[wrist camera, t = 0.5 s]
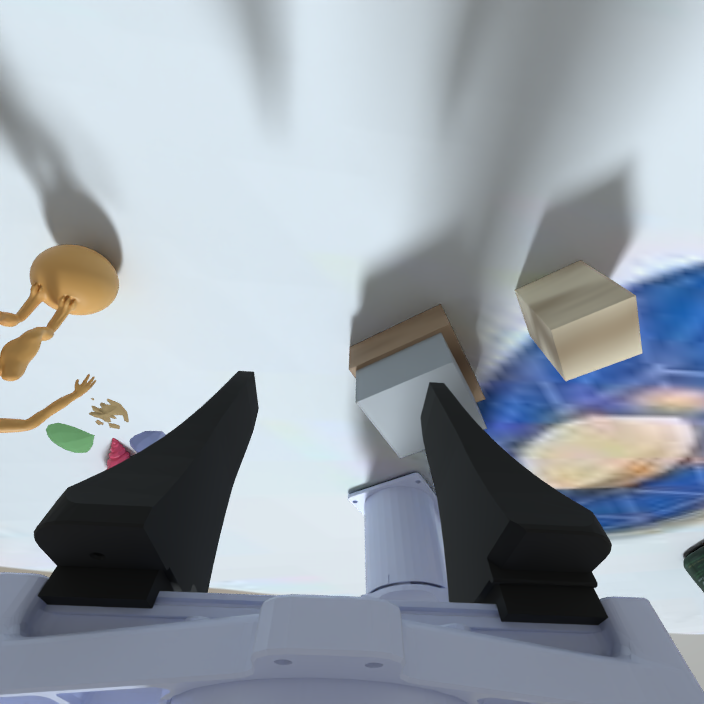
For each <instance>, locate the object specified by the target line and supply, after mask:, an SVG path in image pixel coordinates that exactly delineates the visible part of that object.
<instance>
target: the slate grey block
mask: <svg viewBox="0 0 704 704" xmlns="http://www.w3.org/2000/svg"><path fill="white" fill-rule="evenodd" d="M429 382H437V383H445V385H446V386H447V387H448V388H449V390H450V391H451V392H452V393H453V395H454V396H455V397H456V399H457V400H458V401H459V402H460V404H461V405H462V406H463V407H464V408H465V410H466V411H467V412H468V413H469V414H470V416H471V417H472V418H473V419H474V420H475V421H476V423H477V424H478V425H479V426H480V427H481V428H482V429H483V430H484V429H487V427H486V425H485V422H484V420H483V417H482V415H481V413H480V410H479V408H478V406H477V403H476V401H475V398H474V396H473V394H472V392H471V390H470V388H469V386H468V384H467V382H466V380H465V378H464V376H463V374H462V372H461V370H460V368H459V366H458V364H457V363H456V361H455V359H454V357H453V355H452V353H451V351H450V349H449V347H448V345H447V343H446V341H445V339H444V337H443V335H442V333H438V334H436V335H434V336H432V337H430V338H427V339H425V340H423V341H421V342H419V343H416V344H414V345H412V346H410V347H408V348H405V349H403V350H401V351H399V352H396V353H394V354H392V355H390V356H388V357H385V358H383V359H381V360H379V361H377V362H374V363H372V364H370V365H368V366H366V367H363V368H361V369H359V370H357V371H356V403H357V404H358V406H359V407H360V408H361V409H362V411H363V412H364V413H365V415H366V416H367V417H368V418H369V420H370V421H371V422H372V423H373V425H374V426H375V427H376V429H377V430H378V431H379V432H380V434H381V435H382V436H383V437H384V439H385V440H386V441H387V442H388V444H389V445H390V446H391V448H392V449H393V450H394V451H395V453H396V454H397V455H398V456H399V458H403V457H406V456H409V455H412V454H415V453H418V452H420V451H423V450H425V446H424V442H423V436H422V428H421V419H420V417H421V413H422V409H423V405H424V401H425V397H426V393H427V390H428V386H429Z"/></svg>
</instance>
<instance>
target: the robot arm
mask: <svg viewBox="0 0 704 704" xmlns="http://www.w3.org/2000/svg"><path fill="white" fill-rule="evenodd" d="M258 409H259V408H258V400H257V392H256V384H255V377H254V372H247V371H238V372H237V373H236V374H235V375H234V376H233V377H232V378H231V379H230V380H229V381H228V382H227V383H226V384H225V385H224V386H223V387H222V388H221V389H220V390H219V391H218V392H217V393H216V394H215V395H214V396H213V397H212V398H211V399H209V400H208V401H207V402H206V403H205V404H204V405H203V406H202V407H201V408H200V409H198V410H197V411H196V412H195V413H194V414H193V415H191V416H190V417H189V418H188V419H187V420H185V421H184V422H183V423H182V424H180V425H179V426H178V427H176V428H175V429H174V430H172V431H171V432H170V433H168V434H167V435H165V436H164V437H162V438H161V439H159V440H158V441H156V442H155V443H153V444H151V445H150V446H148V447H147V448H145V449H143V450H142V451H140V452H139V453H137V454H135V455H133V456H132V457H130V458H128V459H126V460H124V461H123V462H121V463H119V464H117V465H115V466H113V467H111V468H109V469H107V470H105V471H103V472H101V473H99V474H97V475H95V476H93V477H90V478H88V479H86V480H84V481H82V482H80V483H77V484H75V485H73V486H71V487H68V488H67V489H66V491H65V492H64V493H63V494H62V495H61V496H60V498H59V499H58V500H57V501H56V503H55V504H54V505H53V507H52V508H51V509H50V511H49V512H48V513H47V514H46V516H45V517H44V518H43V520H42V521H41V522H40V524H39V525H38V526H37V528H36V529H35V531H34V538H35V541H36V543H37V544H38V546H39V547H40V548H41V549H42V550H43V551H44V552H45V553H46V554H47V555H48V556H49V557H50V559H51V560H52V561H53V562H54V563H55V564H56V565H57V567H56V569H55V570H54V572H53V573H52V575H51V576H50V578H49V577H47V576H44V575H41V574H33V573H7V572H0V704H704V692H703V690H702V688H701V687H700V685H699V684H698V682H697V680H696V678H695V677H694V675H693V673H692V672H691V670H690V669H689V667H688V665H687V664H686V662H685V660H684V659H683V657H682V655H681V654H680V652H679V650H678V649H677V647H676V646H675V644H674V642H673V640H672V639H671V637H670V636H669V634H668V632H667V630H666V629H665V627H664V625H663V624H662V622H661V620H660V619H659V617H658V615H657V614H656V612H655V611H654V609H653V607H652V606H651V604H650V602H649V601H648V600H647V599H645V598H634V597H606V598H602V599H600V600H599V598H598V596H597V594H596V592H595V590H594V588H596V587H597V581H596V579H595V577H594V575H593V573H592V571H593V570H594V569H595V568H596V567H597V566H598V565H599V564H600V563H601V562H602V561H603V560H604V559H605V558H606V557H607V556H608V555H609V553H610V551H611V546H612V544H611V542H610V540H609V538H608V536H607V535H606V533H605V531H604V530H603V528H602V526H601V525H600V523H599V521H598V520H597V518H596V517H595V515H594V514H593V512H591V511H590V510H588V509H586V508H585V507H583V506H581V505H580V504H578V503H576V502H575V501H573V500H571V499H570V498H568V497H566V496H565V495H563V494H561V493H560V492H558V491H557V490H555V489H554V488H553V487H551V486H550V485H548V484H547V483H545V482H544V481H542V480H541V479H539V478H538V477H537V476H535V475H534V474H533V473H531V472H530V471H529V470H527V469H526V468H525V467H524V466H522V465H521V464H520V463H519V462H517V461H516V460H515V459H514V458H512V457H511V456H510V455H509V454H508V453H507V452H506V451H505V450H503V449H502V448H501V447H500V446H499V445H498V444H497V443H496V442H495V441H494V440H493V439H492V438H491V437H490V436H489V435H488V434H487V433H486V432H485V431H484V430H483V429H482V428H481V427H480V426H479V425H478V424H477V423H476V421H475V420H474V419H473V418H472V417H471V416H470V414H469V413H468V412H467V411H466V410H465V408H464V407H463V406H462V405H461V404H460V402H459V401H458V400H457V399H456V397H455V396H454V395H453V393H452V392H451V391H450V390H449V388H448V387H447V386H446V385H445V383H437V382H429V386H428V390H427V393H426V397H425V401H424V405H423V409H422V413H421V417H420V419H421V428H422V436H423V442H424V446H425V450H426V454H427V458H428V462H429V466H430V470H431V474H432V478H433V482H434V486H435V491H436V495H435V493H434V492H433V491H432V489H431V488H430V487H429V485H428V484H427V483H426V481H425V480H424V479H423V477H422V476H421V475H420V474H419V473H412V474H409V475H406V476H403V477H400V478H397V479H394V480H391V481H388V482H384V483H381V484H378V485H375V486H372V487H369V488H366V489H363V490H360V491H357V492H354V493H351V494H349V495H348V500H349V501H350V502H351V503H352V504H353V505H354V506H355V507H356V508H357V509H358V510H359V511H360V512H361V513H362V514H363V515H364V520H365V569H366V594H365V595H361V597H350V596H324V595H299V594H291V595H278V596H274V595H248V594H222V593H220V594H219V593H208V588H209V583H210V578H211V574H212V569H213V564H214V560H215V555H216V551H217V546H218V542H219V538H220V533H221V529H222V525H223V521H224V517H225V513H226V509H227V506H228V502H229V498H230V494H231V490H232V487H233V484H234V481H235V478H236V476H237V473H238V470H239V468H240V465H241V462H242V460H243V457H244V454H245V452H246V449H247V447H248V444H249V441H250V438H251V436H252V433H253V430H254V426H255V422H256V418H257V413H258Z"/></svg>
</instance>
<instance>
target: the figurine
mask: <svg viewBox="0 0 704 704" xmlns="http://www.w3.org/2000/svg"><path fill="white" fill-rule="evenodd" d="M30 282H31V285H32V287H31V293H30V296H29V298H28V299H27V301H26V302H25V303H24V304H23V306H22V307H21V309H20V310H19V311H18V312H17V314H16V315H15V314H12V313H8V312H1V311H0V324H1V325H3V326H7V327H13V326H16V325H17V324H18V323H20V322H22V321H24V320H25V319H26V318H27V317H28V316H29V315H30V314H31V313H32V312H33V311H34V310H35V308H36V307H37V306H38V305H39V304H40V303H41V302H44V303H46V304H47V305H48V306H50V307H52V308H53V309H55V310H57V311H56V312H55V314H54V316H53V317H52V319H51V320H50V321H49V323H48V325H47V327H36V328H34V329H31V330H28V331H26V332H25V333H23V334H22V335H21V336H20V337H18V338H16V339H14V340H12V341H10V342H8V343H7V344H6V345H5V346H4V347H3V349H2V351H1V355H0V376H1V377H2V379H4V380H6V381H14V380H17V379H19V378H20V377H21V376H22V375H23V374H24V372H25V370H26V368H27V365H28V364H29V362H30V361H31V360H32V359H33V358H34V356H35V355H36V354H37V352H38V350H39V348H40V345H41V341H46V340H49V339H51V338H52V337H53V335H54V332H55V331H56V330H57V329H58V328H59V326H60V325H61V324H62V322H63V321H64V320H65V318H66V317H67V316H68V314H72V315H88V314H93V313H96V312H99V311H101V310H103V309H105V308H106V307H108V306H109V305H110V304H111V303H112V302H113V301H114V299H115V297H116V295H117V293H118V289H119V280H118V276H117V273H116V271H115V269H114V267H113V266H112V264H111V263H110V262H109V261H108V260H107V259H106V258H105V257H104V256H102V255H101V254H99V253H98V252H96V251H94V250H92V249H89V248H87V247H83V246H79V245H58V246H54V247H51V248H49V249H47V250H45V251H43V252H42V253H40V254H39V255H38V256H37V257H36V259H35V260H34V262H33V263H32V266H31V269H30ZM89 376H90V374H88V375H87V377H86V378H85V380H84V381H83V382H82V384H81V385H79V384H78V382H79V380H78V379H77V380H76V382H75V391H74V392H73V393H71V394H68V395H66V396H64V397H61V398H60V399H58V400H56V401H55V402H53V403H51V404H50V405H49V406H47V407H46V408H45V409H43V410H41V411H39V412H37V413H36V414H34V415H33V416H32V417H30V418H29V419H27V420H21V419H6V418H0V433H8V432H22V431H28V430H31V429H34V428H36V427H37V426H39V425H40V424H41V423H43V422H44V421H45V420H46V419H47V418H49V417H50V416H52V415H53V414H55V413H56V412H58V411H59V410H61V409H63V408H64V407H66V406H67V405H68V404H70V403H71V402H72V401H74V400H75V399H77V398H78V397H80V396H82V395H83V394H84V393H86V392H87V391H88V390H89V389H90V388H91V387H92V386H93V385H94V383H95V382H96V380H95V381H94V382H93V383H92V381H93V380H94V377H92V379H91V380H90V381H89V382H88V383H87V380H88V378H89ZM91 383H92V384H91ZM90 384H91V385H90Z"/></svg>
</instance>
